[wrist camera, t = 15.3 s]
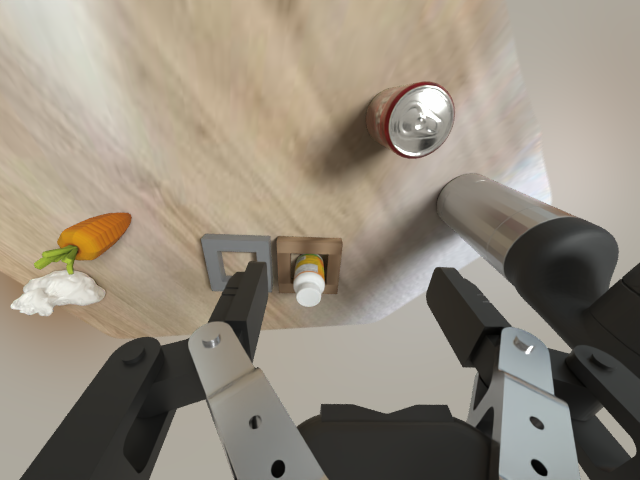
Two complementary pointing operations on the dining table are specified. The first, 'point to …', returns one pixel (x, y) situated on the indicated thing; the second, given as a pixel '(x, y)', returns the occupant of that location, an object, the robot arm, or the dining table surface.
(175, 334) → the dining table surface
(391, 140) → the soda can
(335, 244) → the socket
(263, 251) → the socket
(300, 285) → the supplement bottle
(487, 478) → the robot arm
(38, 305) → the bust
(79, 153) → the dining table surface
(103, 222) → the carrot
